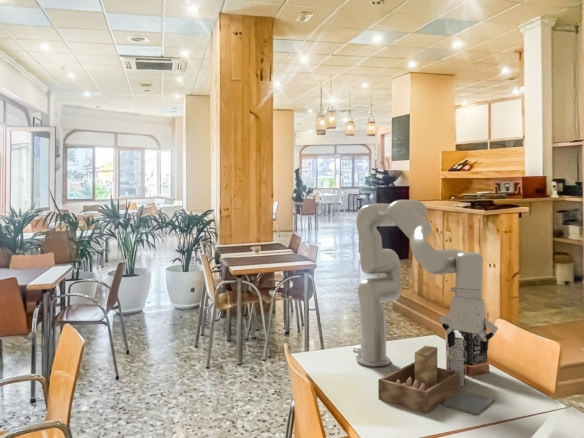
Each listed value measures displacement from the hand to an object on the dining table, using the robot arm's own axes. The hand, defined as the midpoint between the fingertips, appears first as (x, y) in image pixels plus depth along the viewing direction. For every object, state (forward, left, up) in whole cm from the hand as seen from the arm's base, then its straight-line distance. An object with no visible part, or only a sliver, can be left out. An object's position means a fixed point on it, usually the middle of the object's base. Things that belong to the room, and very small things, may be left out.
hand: (467, 349), depth 138 cm
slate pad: (+1, 0, -16) cm, 16 cm away
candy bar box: (-10, +15, -16) cm, 24 cm away
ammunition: (-16, -12, -14) cm, 25 cm away
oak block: (-14, +1, -16) cm, 21 cm away
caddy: (-13, -4, -16) cm, 21 cm away
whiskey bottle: (-10, +28, -16) cm, 34 cm away
